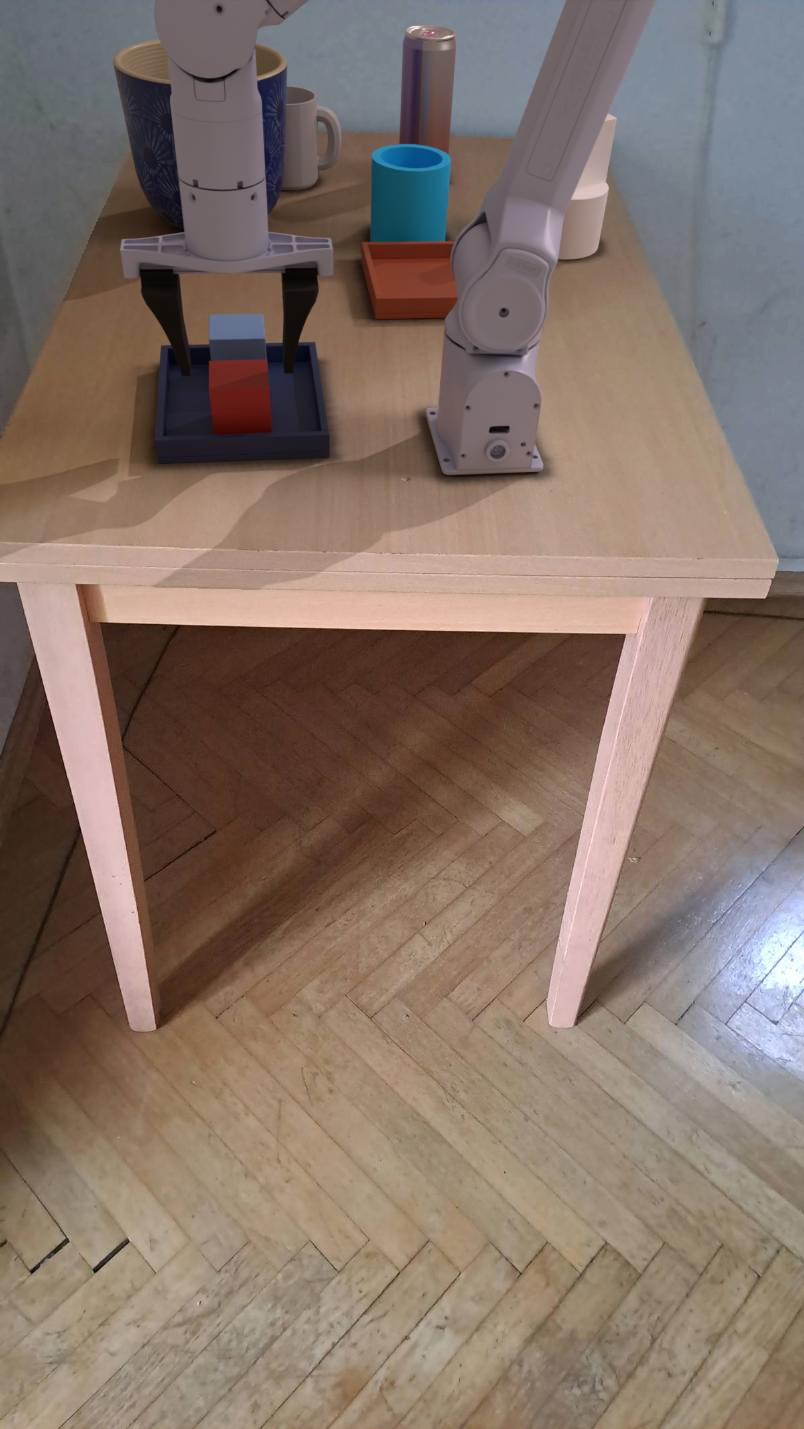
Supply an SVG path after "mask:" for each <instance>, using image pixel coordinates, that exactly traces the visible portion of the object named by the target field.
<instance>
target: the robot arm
mask: <svg viewBox="0 0 804 1429" xmlns="http://www.w3.org/2000/svg"><path fill="white" fill-rule="evenodd" d="M309 1H310V0H154V9H153V14H154V15H153V16H154V17H153V18H154V25H155V29H156V34H157V36H158V39H160V42H161V44H162V46H163V48H164V49H165V51H166V52H167V54H168V74H169V78H170V81H171V90H172V94H171V96H170V105H171V114H172V123H173V133H174V142H175V151H176V160H177V169H178V176H179V186H180V195H181V205H182V214H183V223H184V230H183V232H177V233H170V234H169V233H168V234H163V235H156V236H150V237H149V236H148V237H140V238H121V241H120V249H119V256H120V260H121V266H122V274H123V278H124V279H139V278H140V293H141V296H142V299H143V301H144V303H145V305H146V306H147V307H148V309H149V310H150V311H151V313H152V314H153V316H154V317H155V318H156V320H157V322H158V323H159V325H160V327H161V328H162V330H163V332H164V334H165V336H166V338H167V340H168V342H169V345H171V346H172V348H173V351H174V353H175V356H176V358H177V361H178V364H179V368H180V372H181V375H182V376H191V358H190V348H189V345H190V343H189V338H188V334H187V333H188V332H187V329H186V328H187V327H186V324H185V317H184V309H183V308H184V307H183V300H182V289H181V279H180V278H181V276H180V275H182V274H183V275H190V274H191V275H194V274H195V275H196V274H197V275H198V274H199V275H200V274H201V275H203V274H206V275H207V274H208V275H209V274H211V275H212V274H225V275H226V274H280V277H281V295H282V296H281V297H282V313H283V314H282V315H283V317H282V342H281V343H282V352H283V366H284V374H292V373H294V360H295V355H296V350H297V346H298V342H300V339H301V336H302V332H303V330H304V327H305V324H306V322H307V320H308V317H309V315H310V314H311V312H312V309H313V308H314V306H315V304H316V302H317V299H318V297H319V296H318V295H319V290H320V288H319V287H320V284H319V279H318V278H319V277H333V276H334V247H333V241H332V238H330V237H314V236H313V237H311V236H302V235H296V234H295V235H294V234H290V233H289V234H288V233H281V232H273V231H269V218H268V216H269V215H267V195H266V175H265V158H264V138H263V118H262V100H261V96H260V94H259V92H258V88H257V71H256V52H255V48H254V47H255V44H256V43H257V39H258V33H259V32H258V31H259V29H261V28H264V27H269V26H278V25H280V24H282V23H283V22H284V21H286V20H287V19H288V18H290V16H292V15H293V14H294V13H295V12H297V11H298V10H299V9H300V8H302V7H303V6H304V5H305V4H306V3H308V2H309ZM656 4H657V0H565V2H564V4H563V7H562V10H561V12H560V15H559V18H558V21H557V23H556V26H555V29H554V31H553V35H552V37H551V39H550V42H549V45H548V47H547V49H546V53H545V55H544V58H543V61H542V63H541V66H540V69H539V72H538V73H537V76H536V80H535V82H534V84H533V87H532V90H531V93H530V94H529V98H528V101H527V103H526V105H525V109H524V112H523V114H522V117H521V119H520V122H519V125H518V127H517V130H516V133H515V135H514V138H513V140H512V143H511V146H510V149H509V152H508V154H507V157H506V159H505V162H504V165H503V167H502V170H501V173H500V175H499V177H498V178H497V179H496V181H495V182H494V183H493V184H492V185H491V186H490V188H488V190H487V191H486V193H485V194H484V197H483V201H482V203H481V205H480V208H479V210H478V212H477V214H476V215H475V217H474V218H473V219H472V220H471V221H470V222H469V223H468V224H467V225H465V227H463V229H462V230H461V231H460V232H459V234H458V235H457V237H456V239H455V240H454V241H455V242H454V245H453V247H452V251H451V256H450V265H451V271H452V275H453V279H454V281H455V284H456V291H457V298H458V300H457V302H456V304H455V306H454V307H453V309H452V310H451V311H450V313H449V314H448V315H447V317H446V318H444V328H443V340H442V353H441V366H440V379H439V392H438V393H439V394H438V404H437V405H438V406H431V407H426V408H425V418H426V421H427V424H428V428H429V431H430V435H431V438H432V441H433V446H434V448H435V453H436V456H437V459H438V462H439V466H440V469H441V473H443V474H444V475H446V476H459V475H462V476H463V475H485V474H508V473H509V474H512V473H536V472H537V473H538V472H541V471H543V470H544V462H543V460H542V457H541V454H540V453H539V450H538V448H537V445H536V440H537V434H538V427H539V421H540V414H541V408H542V391H541V388H540V385H539V382H538V379H537V376H536V375H537V374H536V370H537V364H538V363H537V362H538V355H539V350H540V349H539V348H540V343H541V342H540V341H541V336H542V330H543V329H544V326H545V324H546V322H547V319H548V315H549V311H550V310H549V309H550V299H549V298H550V297H549V290H550V289H549V288H550V282H551V279H552V276H553V274H554V271H555V269H556V267H557V264H558V261H559V259H558V256H559V249H560V241H561V234H562V226H563V220H564V215H565V213H566V210H567V208H568V206H569V203H570V201H571V199H572V196H573V194H574V192H575V189H576V187H577V185H578V182H579V180H580V178H581V175H582V173H583V171H584V168H585V166H586V164H587V161H588V159H589V157H590V154H591V152H592V150H593V147H594V145H595V143H596V140H597V138H598V136H599V133H600V131H601V129H602V126H603V124H604V122H605V119H606V117H607V115H608V114H609V112H610V110H611V108H612V105H613V103H614V101H615V98H616V96H617V93H618V91H619V89H620V87H621V84H622V83H623V80H624V77H625V76H626V73H627V70H628V68H629V66H630V64H631V61H632V59H633V56H634V54H635V51H636V49H637V47H638V44H639V42H640V40H641V38H642V35H643V34H644V31H645V28H646V26H647V24H648V22H649V19H650V17H651V14H652V12H653V10H654V8H655V5H656Z"/></svg>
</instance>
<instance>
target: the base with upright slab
mask: <svg viewBox="0 0 804 1429" xmlns="http://www.w3.org/2000/svg"><path fill="white" fill-rule="evenodd" d="M617 123H618V118H617V117H616V116H614V115H612V114H610V113H608V115H607V117H606V119H605V122H604V124H603V126H602V129H601V131H600V133H599V136H598V138H597V140H596V143H595V145H594V147H593V150H592V152H591V154H590V157H589V159H588V161H587V164H586V166H585V168H584V171H583V173H582V175H581V178H580V180H579V182H578V185H577V187H576V189H575V192H574V194H573V196H572V199H571V201H570V203H569V206H568V208H567V210H566V213H565V215H564V220H563V226H562V234H561V241H560V249H559V256H558V260H577V259H578V260H579V259H584V258H586V257H590V256H592V255H593V254H595V253H596V252H597V250H598V249H599V244H600V239H601V233H602V228H603V224H604V219H605V218H604V217H605V211H606V206H607V201H608V196H609V190H610V188H609V184H608V183H607V179H608V178H607V177H608V173H609V172H608V171H609V166H610V160H611V155H612V150H613V143H614V138H615V132H616V128H617Z"/></svg>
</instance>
